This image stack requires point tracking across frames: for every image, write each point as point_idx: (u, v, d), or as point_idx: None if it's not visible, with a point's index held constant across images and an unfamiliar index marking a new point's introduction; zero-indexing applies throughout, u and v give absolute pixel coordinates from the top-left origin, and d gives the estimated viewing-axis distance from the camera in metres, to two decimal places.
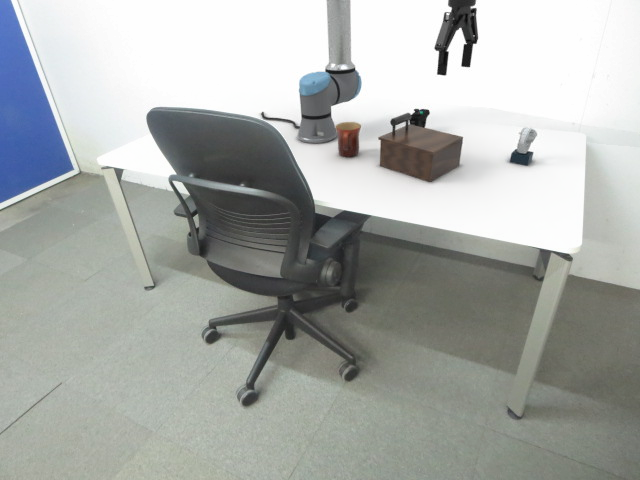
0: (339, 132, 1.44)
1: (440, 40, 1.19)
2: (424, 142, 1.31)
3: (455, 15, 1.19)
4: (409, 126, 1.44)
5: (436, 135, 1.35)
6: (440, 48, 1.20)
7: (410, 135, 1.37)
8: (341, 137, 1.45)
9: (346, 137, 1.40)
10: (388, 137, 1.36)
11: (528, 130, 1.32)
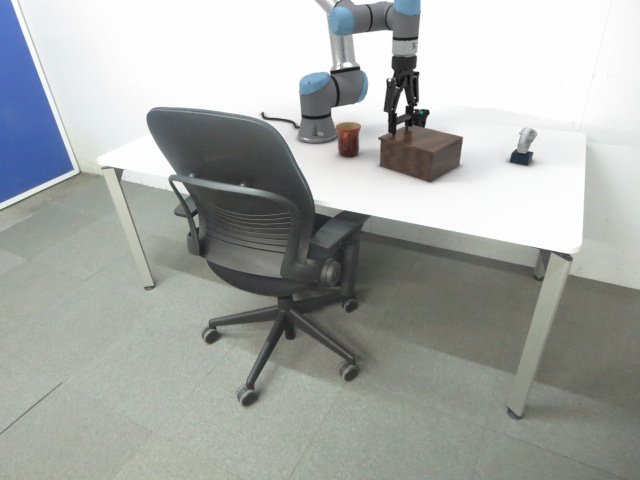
0: (339, 132, 1.44)
1: (387, 104, 1.30)
2: (424, 142, 1.31)
3: (397, 78, 1.27)
4: None
5: (436, 135, 1.35)
6: (388, 111, 1.30)
7: (410, 135, 1.37)
8: (341, 137, 1.45)
9: (346, 137, 1.40)
10: (388, 137, 1.36)
11: (528, 130, 1.32)
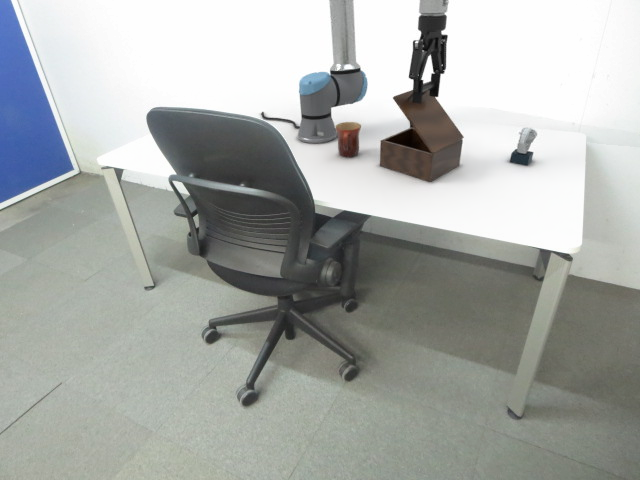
0: (339, 132, 1.44)
1: (413, 70, 1.18)
2: (431, 130, 1.27)
3: (424, 41, 1.16)
4: None
5: (443, 122, 1.31)
6: (414, 77, 1.19)
7: (422, 108, 1.29)
8: (341, 137, 1.45)
9: (346, 137, 1.40)
10: (403, 102, 1.26)
11: (528, 130, 1.32)
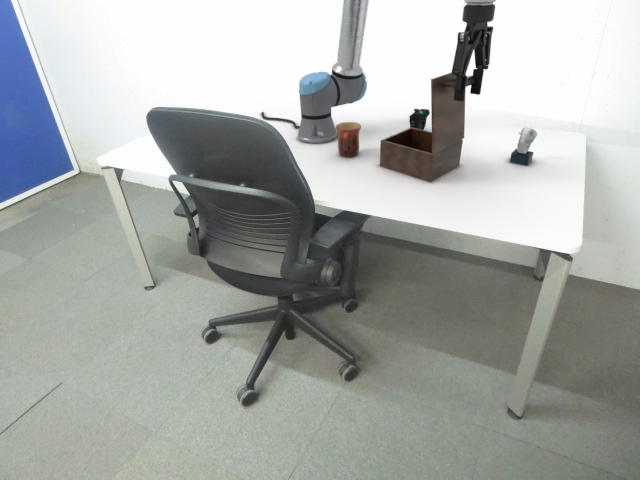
0: (339, 132, 1.44)
1: (457, 64, 1.09)
2: (443, 126, 1.23)
3: (470, 33, 1.06)
4: None
5: (457, 118, 1.27)
6: (458, 73, 1.09)
7: (449, 99, 1.22)
8: (341, 137, 1.45)
9: (346, 137, 1.40)
10: (437, 89, 1.16)
11: (528, 130, 1.32)
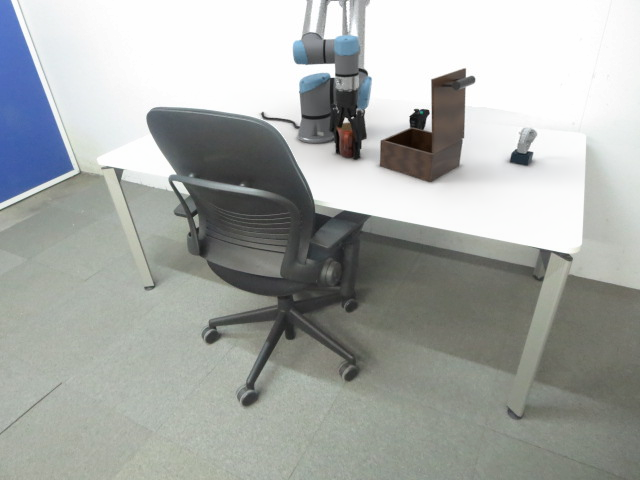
0: (340, 132, 1.44)
1: None
2: (443, 127, 1.23)
3: (336, 106, 1.43)
4: (462, 74, 1.23)
5: (457, 118, 1.27)
6: None
7: (449, 99, 1.22)
8: (342, 137, 1.45)
9: (347, 137, 1.40)
10: (437, 89, 1.16)
11: (528, 130, 1.32)
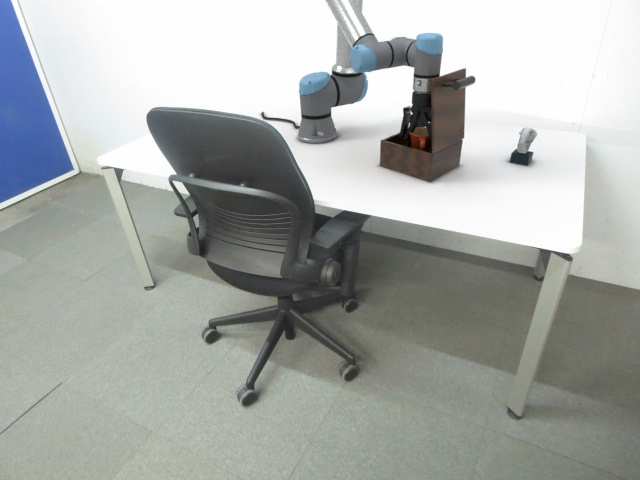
0: (414, 138, 1.33)
1: None
2: (443, 127, 1.23)
3: (411, 109, 1.32)
4: (462, 74, 1.23)
5: (457, 118, 1.27)
6: None
7: (449, 99, 1.22)
8: (416, 144, 1.34)
9: (424, 144, 1.29)
10: (437, 89, 1.16)
11: (528, 130, 1.32)
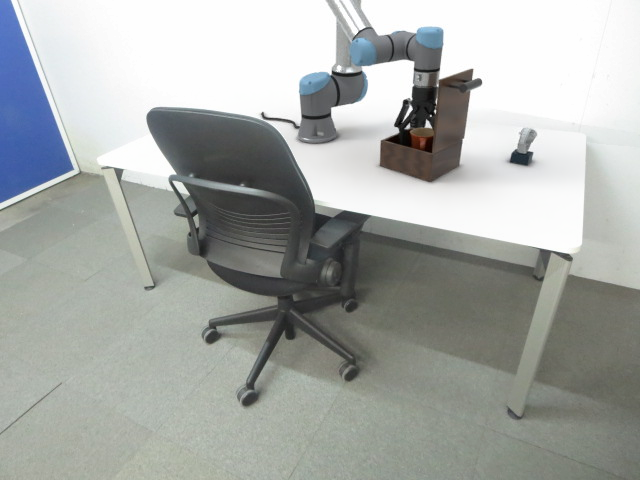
0: (414, 139, 1.33)
1: None
2: (446, 127, 1.23)
3: (410, 103, 1.31)
4: (469, 75, 1.22)
5: (460, 118, 1.27)
6: None
7: (454, 99, 1.21)
8: (416, 144, 1.34)
9: (424, 144, 1.29)
10: (443, 90, 1.15)
11: (528, 130, 1.32)
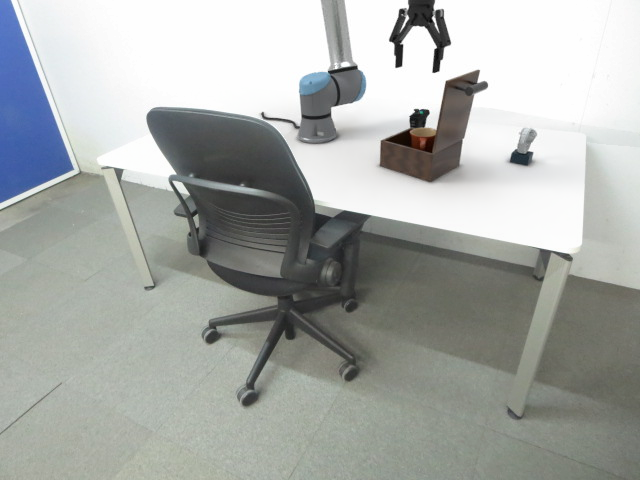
0: (414, 139, 1.33)
1: None
2: (448, 128, 1.23)
3: (407, 12, 1.24)
4: (475, 76, 1.21)
5: (462, 119, 1.26)
6: None
7: (458, 101, 1.20)
8: (416, 144, 1.34)
9: (424, 144, 1.29)
10: (449, 91, 1.14)
11: (528, 130, 1.32)
